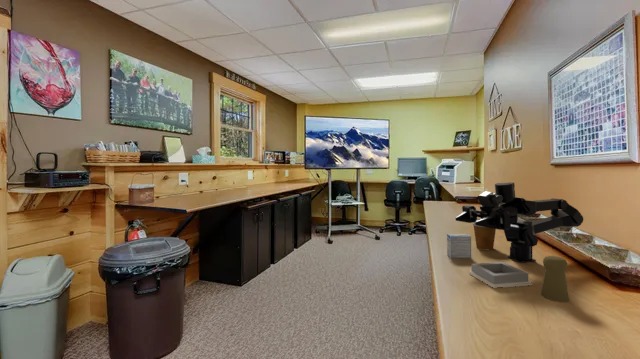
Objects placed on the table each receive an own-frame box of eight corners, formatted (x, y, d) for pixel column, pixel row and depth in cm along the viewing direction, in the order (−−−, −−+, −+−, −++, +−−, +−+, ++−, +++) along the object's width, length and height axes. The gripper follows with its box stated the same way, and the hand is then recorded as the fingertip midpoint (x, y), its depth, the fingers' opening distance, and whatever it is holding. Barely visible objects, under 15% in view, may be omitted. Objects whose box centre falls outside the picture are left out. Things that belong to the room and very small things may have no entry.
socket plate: (502, 271, 102) (502, 261, 101) (531, 285, 90) (531, 273, 90) (469, 273, 100) (469, 263, 100) (493, 288, 89) (493, 276, 88)
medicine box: (467, 254, 121) (467, 233, 120) (471, 258, 116) (471, 236, 116) (446, 255, 122) (446, 233, 121) (450, 258, 117) (450, 236, 117)
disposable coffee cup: (502, 248, 128) (502, 220, 127) (489, 252, 123) (489, 223, 123) (480, 243, 136) (480, 217, 136) (467, 247, 131) (467, 220, 131)
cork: (563, 293, 84) (563, 254, 83) (573, 303, 78) (573, 261, 77) (537, 291, 86) (537, 253, 85) (545, 300, 80) (546, 259, 79)
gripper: (477, 189, 118) (444, 196, 114) (521, 192, 100) (484, 201, 96) (480, 216, 119) (447, 225, 114) (525, 225, 101) (488, 235, 96)
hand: (465, 221), depth 105 cm, fingers open, 9 cm apart
